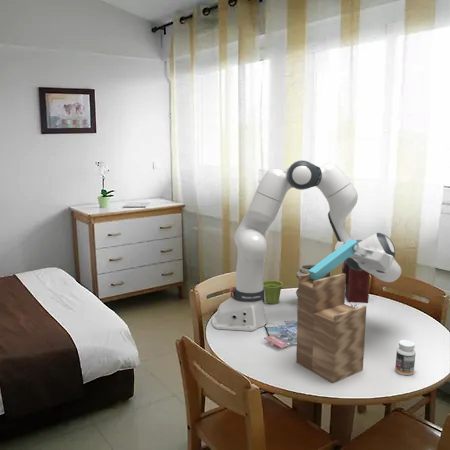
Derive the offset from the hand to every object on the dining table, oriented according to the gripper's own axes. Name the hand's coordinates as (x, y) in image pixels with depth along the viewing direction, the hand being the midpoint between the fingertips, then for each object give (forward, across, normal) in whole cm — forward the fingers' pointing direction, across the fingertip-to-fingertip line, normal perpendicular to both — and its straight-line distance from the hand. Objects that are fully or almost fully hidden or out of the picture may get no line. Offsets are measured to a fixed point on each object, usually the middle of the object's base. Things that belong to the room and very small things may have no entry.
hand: (348, 245), depth 162 cm
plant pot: (-27, -51, +28) cm, 64 cm away
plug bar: (+3, 0, +8) cm, 8 cm away
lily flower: (-45, -21, +19) cm, 53 cm away
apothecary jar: (-37, -38, +23) cm, 58 cm away
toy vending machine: (-56, -32, +12) cm, 66 cm away
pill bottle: (-23, +22, +31) cm, 44 cm away
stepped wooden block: (-8, +5, +40) cm, 41 cm away
